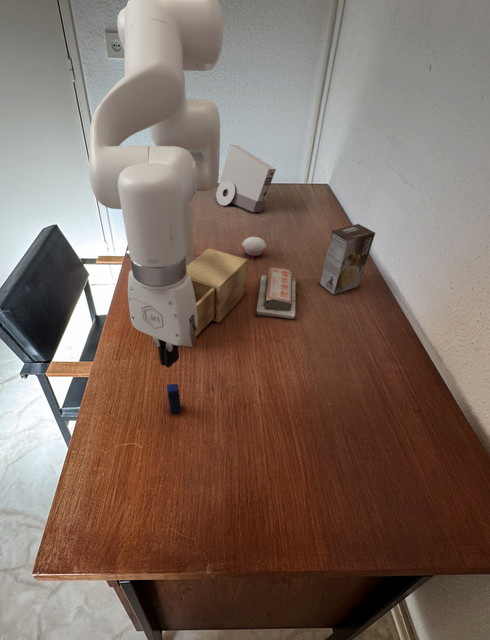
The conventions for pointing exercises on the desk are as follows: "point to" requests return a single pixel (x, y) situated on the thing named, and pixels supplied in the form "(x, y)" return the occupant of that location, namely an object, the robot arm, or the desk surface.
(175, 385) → the eraser
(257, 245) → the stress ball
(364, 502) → the desk surface
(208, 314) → the drawer
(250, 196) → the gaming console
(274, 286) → the packaged product
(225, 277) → the cabinet
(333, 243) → the coffee box
